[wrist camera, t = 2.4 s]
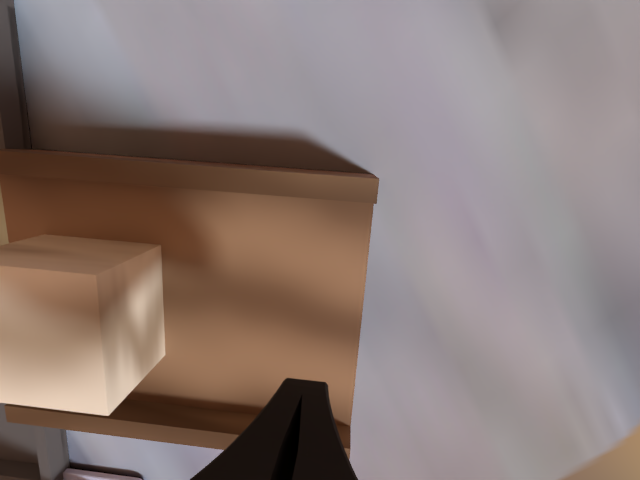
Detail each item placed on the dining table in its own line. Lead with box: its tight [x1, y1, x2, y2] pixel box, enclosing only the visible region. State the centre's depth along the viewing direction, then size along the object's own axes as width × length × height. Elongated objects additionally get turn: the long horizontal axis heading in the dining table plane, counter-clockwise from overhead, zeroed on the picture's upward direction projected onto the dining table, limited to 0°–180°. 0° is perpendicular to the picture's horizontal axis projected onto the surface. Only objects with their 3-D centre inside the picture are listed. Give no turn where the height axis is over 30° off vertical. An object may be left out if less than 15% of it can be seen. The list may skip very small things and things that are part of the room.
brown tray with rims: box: [0, 149, 379, 459], centre depth 18 cm, size 16×32×4 cm, turn 86°
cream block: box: [0, 234, 165, 416], centre depth 16 cm, size 6×6×4 cm
